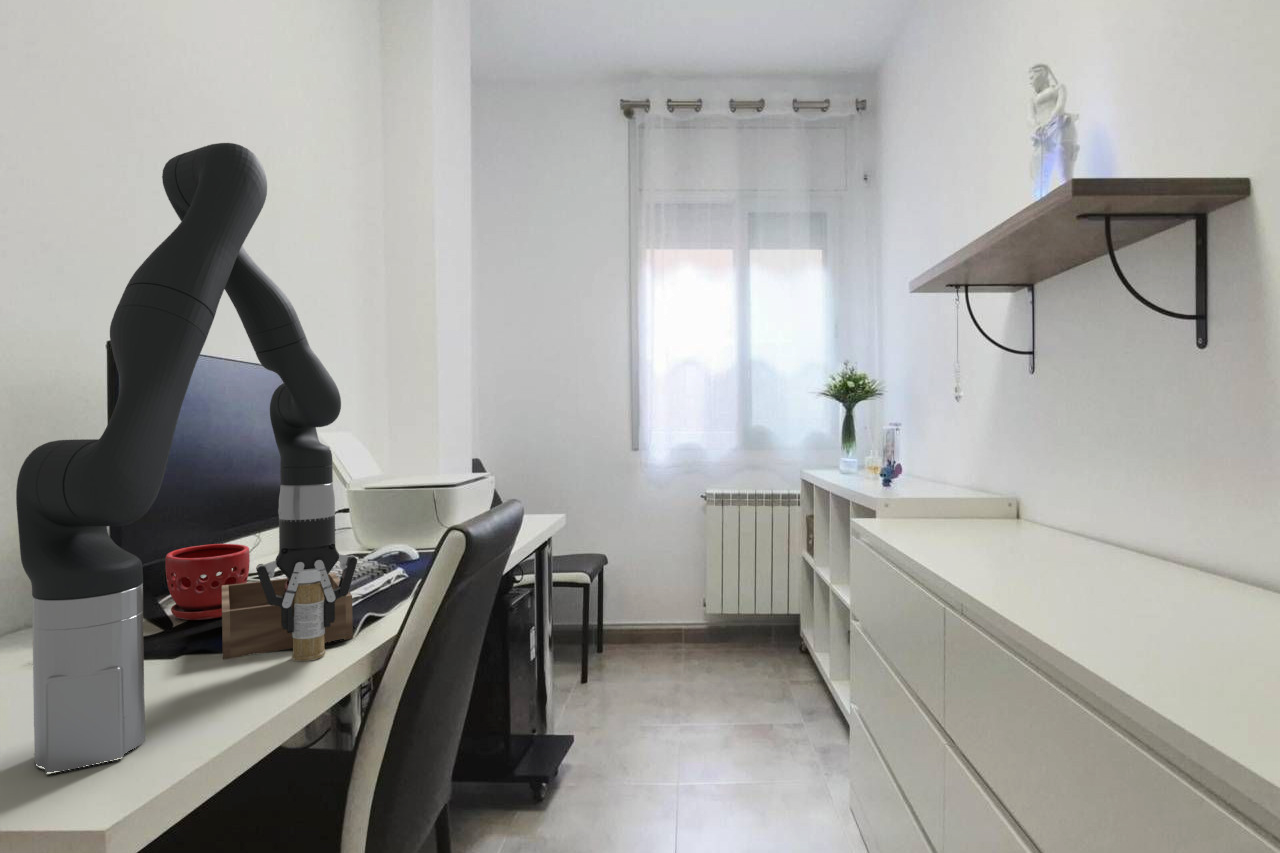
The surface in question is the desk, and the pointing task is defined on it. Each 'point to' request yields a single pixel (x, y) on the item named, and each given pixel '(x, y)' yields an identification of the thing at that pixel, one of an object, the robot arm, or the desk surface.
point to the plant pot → (204, 594)
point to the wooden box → (269, 619)
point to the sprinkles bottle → (308, 617)
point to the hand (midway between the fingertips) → (308, 628)
